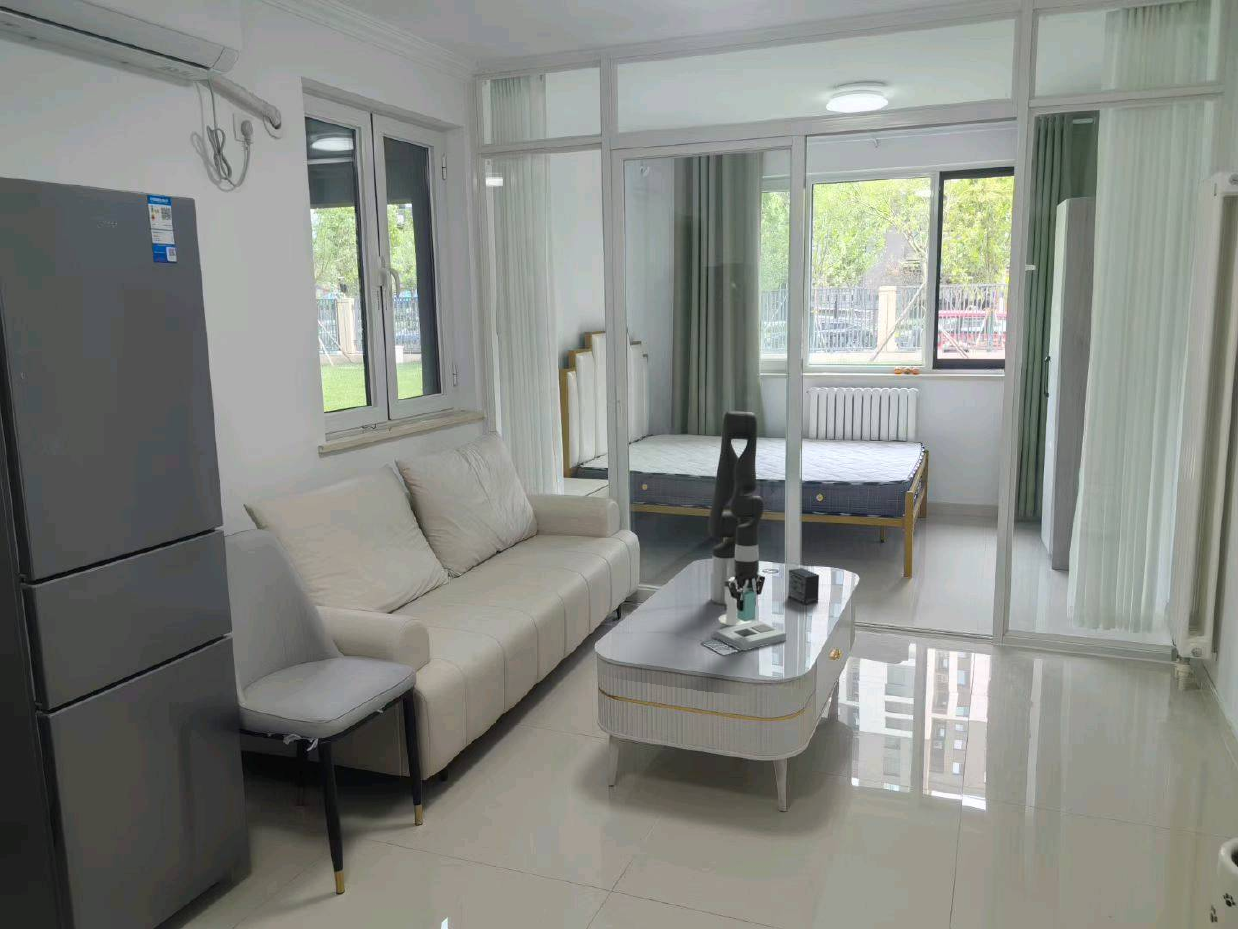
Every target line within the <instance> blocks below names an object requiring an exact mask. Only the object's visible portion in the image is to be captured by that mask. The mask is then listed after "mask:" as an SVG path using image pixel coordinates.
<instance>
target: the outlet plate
mask: <svg viewBox="0 0 1238 929" xmlns="http://www.w3.org/2000/svg"><path fill="white" fill-rule="evenodd" d="M714 638H715V639H717V638H718V639H717V640H719V639H720V640H722V641H724V642H726V643H728V644H731V645H733V646H735V647H737V648H739V649H740V650H745V649H749V648H753V647H757V646H761V647H763V646H762V645H765V646H767V645H766V644H769V645H772V644H776V643H781V642H784V640H785V641H787V632H785V631H783V630H781V629H779V628H776V627H774V626H772V625H771V624H768V623H766V622H763V621H761V620H752V622H749V623H744V624H740V625H736V626H729V627H728V626H727V627H724V628H718V629H715V630H714ZM720 640H719V641H720ZM722 641H721V642H722ZM780 641H781V642H780ZM724 642H723V643H724ZM726 643H725V644H726ZM728 644H727V645H728ZM757 648H758V647H757ZM753 649H754V648H753ZM740 650H739V651H740ZM749 650H750V649H749ZM745 651H746V650H745Z"/></svg>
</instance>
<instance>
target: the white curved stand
mask: <svg viewBox="0 0 1238 929" xmlns="http://www.w3.org/2000/svg"><path fill="white" fill-rule="evenodd" d="M735 576H736V574H735ZM734 579H735V577H731V578H730V579H729V580H728V581H732V580H734ZM728 581H725V586H726V588H725V592H724V596H725V603H726V604H727V605H726V604H724V610H725V611H726V614H722V615H720V616H719V617H718V622H719V623H720V624H722V625H727V626H729V627H731V626H736V625H740V624H744V623H749V622H753V620H751V621H746V622H745V621H742V620H740V619H738V618H737V599H735V598H732V597H731V594H730V591H729V587H728V584H727V582H728ZM736 585H737V583H736ZM736 588H737V587H736ZM741 590H742V589H741Z"/></svg>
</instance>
